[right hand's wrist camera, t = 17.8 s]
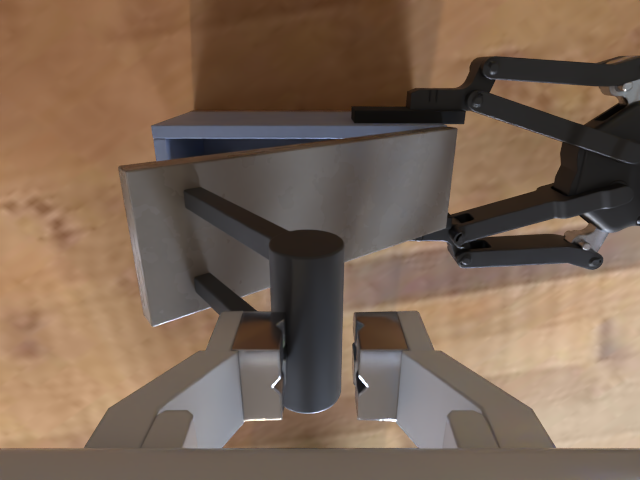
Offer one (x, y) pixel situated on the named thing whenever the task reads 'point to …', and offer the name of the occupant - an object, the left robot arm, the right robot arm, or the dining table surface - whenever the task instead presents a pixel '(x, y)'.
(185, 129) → the chest
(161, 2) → the dining table surface
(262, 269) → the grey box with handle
